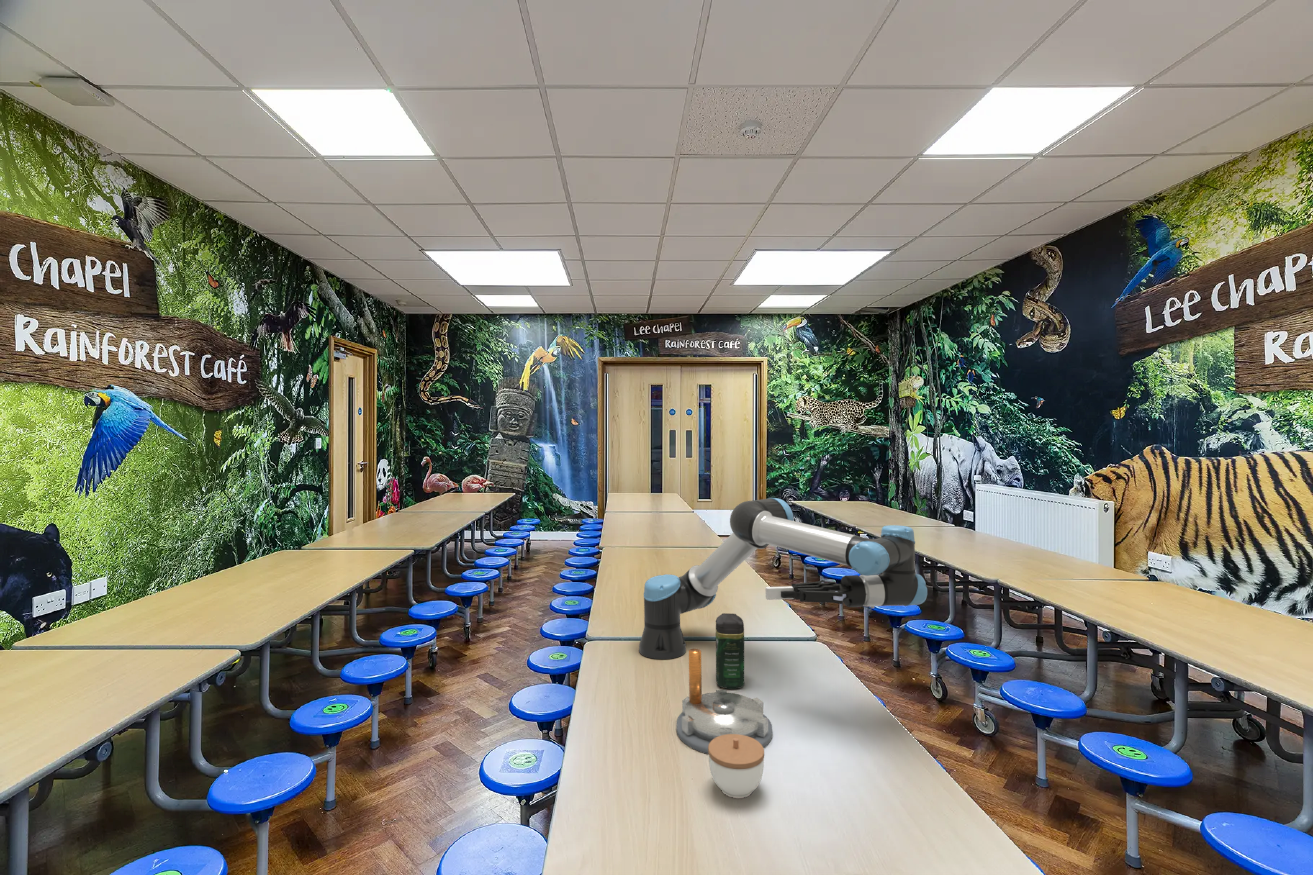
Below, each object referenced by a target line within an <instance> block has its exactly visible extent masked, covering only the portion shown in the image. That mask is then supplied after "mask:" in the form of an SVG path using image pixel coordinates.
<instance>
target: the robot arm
mask: <svg viewBox="0 0 1313 875" xmlns="http://www.w3.org/2000/svg"><path fill="white" fill-rule="evenodd" d="M729 526H730V529H731V531H732V532H731V534H730V535H729V536H728V537H727V538H726V539H725V540H724V541H723V542H722V543H721V544H720V545H719V546H718V547H717V548H715V550H714V551H713V552H712V553H711V554H710V555H709V556H708V557H707V558H706V559H705V560H704V561H703V562H701V564H700V565H698V564H696V565H692V566H691V567H690V568H689V569H688V570H687V571H686V572H685V573H684V574H683V575H681V576H677V575H675V574H663V575H661V574H659V575H655V576H652V577H650V578H648V580H646V581H645V584H644V587H643V588H644V590H643V608H644V610H643V612H644V613H643V614H644V616H643V618H644V628H643V632H642V634H641V638H640V641H639V645H638V647H639V648H638V649H639V650H638V651H639V652H638V653H639V654H640V655H642V656H643V657H645V658H648V659H654V660H670V659H671V660H672V659H676V658H679V657H681V656H683V655H685V654H686V652H687V644H686V641H685V638H684V635H683V631H682V628H681V615H682V614H685V613H688V612H691V611H695V610H700V609H705V608H706V607H708V606H709V605H711V604H712V603H713V602H714V600H715V599H716V597H717V593H718V591H719V584H720V583H722V582H723V581H724V580H725V579H726V578H727V577H728V576H730V575H731V574H732V573H733V572H734V571H735V570H736V569H737V568H738V567H739V566H740V565H741V564H742V563H744V561H746V560H747V559H748V558H749V557H750V556H751V555H752V554H753V553H754V552H755V551H756V550H757V549H758V550H763V549H766V548H767V547H768V546H769V545H771V546H774V547H778V548H781V549H785V550H787V551H788V550H789V551H793V552H795V553H796V552H797V553H800V554H803V555H807V556H810V557H814V558H817V559H822V560H825V561H829V562H833V563H836V564H839V565H843V566H847V567H850V568H852V569H853V571H855V572H856V573H857V575H856V574H854V575H852V574H851V575H849V574H848V575H843V576H842V578H841V579H840V582H839V583H837V582H836V581H827V582H826V581H825V580H823V579H822V580H818V581H811V582H800V583H799V582H798V583H791V586H789V585H788V586H765V599H766V600H767V601H768V600H769V601H774V600H775V601H777V600H792V601H795V600H796V601H799V602H801V603H822V604H823V603H826V604H829V603H830V604H839V605H841V604H842V605H843V604H844V605H845V606H846V607H848V608H861V607H870V609H875V607H887V606H888V607H890V606H891V607H893V606H894V607H895V606H897V607H898V606H899V607H900V606H901V607H908V606H917V605H918V606H919V605H921V604H923V603H925V602H926V599H927V597H928V587H927V584H926V581H925V579H924V577H923V576H922V575H921V574H919V573H916V562H915V561H916V552H915V550H916V549H915V546H916V541H915V532H914V529H913V528H912V527H910V526H906V525H897V524H895V525H894V524H891V525H888V524H887V525H884V526H883V527H881V530H880V531H881V532H880V533H881V534H880V537H877V538H874V539H873V538H868V537H864V536H863V537H862V536H858V535H855V534H851V533H847V532H841V531H838V530H834V529H829V528H825V527H821V526H817V525H811V524H808V523H804V522H799V521H795V520H794V513H793V511H792V509H791V507H790V506H789V504H788V502H786V501H785V500H783V499H781V498H776V497H768V498H762V499H755V500H746V501H743V502H740V503H739V504H737V505H736V506H735V507H733V510H732V511H731V514H730V518H729ZM858 574H859V575H858Z"/></svg>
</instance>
